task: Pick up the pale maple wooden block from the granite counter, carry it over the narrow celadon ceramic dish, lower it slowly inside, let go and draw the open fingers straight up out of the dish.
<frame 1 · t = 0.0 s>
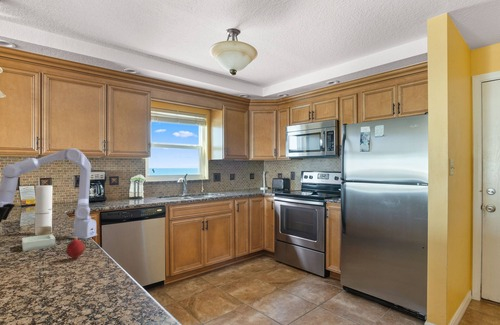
hand: (0, 221, 125), 11 cm above the table, tool pointing down, fingers open, 7 cm apart
dish: (38, 246, 122), on the table
block: (44, 240, 133), on the table
cylindrical container: (43, 233, 147), on the table
onion: (75, 259, 105), on the table
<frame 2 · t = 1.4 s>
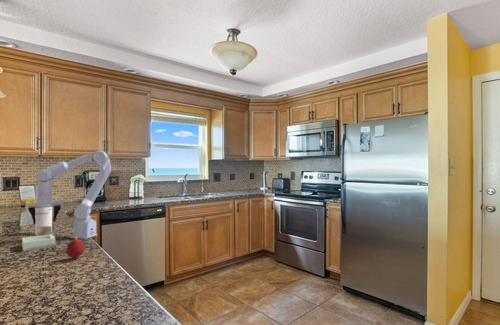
hand: (44, 222, 133), 8 cm above the table, tool pointing down, fingers open, 7 cm apart
nothing on the table moved.
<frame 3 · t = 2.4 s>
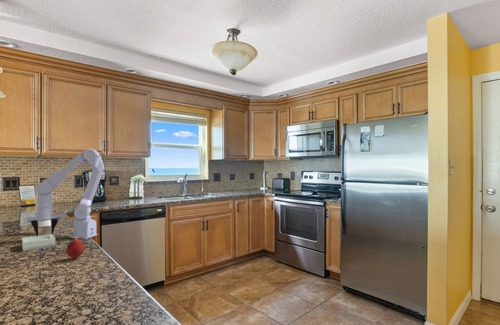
hand: (44, 235, 133), 2 cm above the table, tool pointing down, fingers closed on block, 5 cm apart
block: (44, 239, 133), on the table, touching gripper
everything else where it was.
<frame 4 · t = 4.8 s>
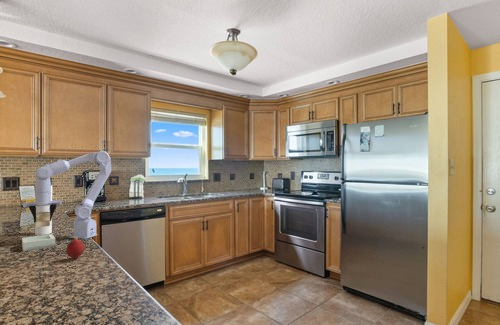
hand: (42, 221, 130), 9 cm above the table, tool pointing down, fingers closed on block, 5 cm apart
block: (42, 225, 130), point 7 cm above the table, touching gripper
everything else where it was.
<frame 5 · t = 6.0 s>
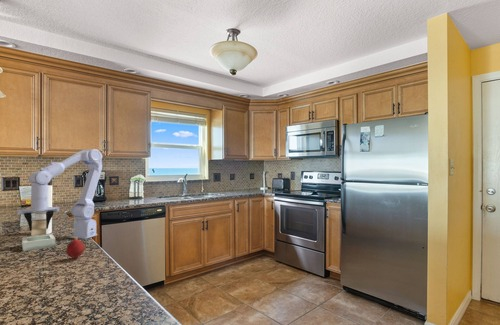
hand: (38, 229, 122), 7 cm above the table, tool pointing down, fingers closed on block, 5 cm apart
block: (38, 234, 122), point 5 cm above the table, touching gripper
everything else where it was.
when the fingers open (4 cm above the table, at t = 7.1 s): block drops 1 cm, resting on dish.
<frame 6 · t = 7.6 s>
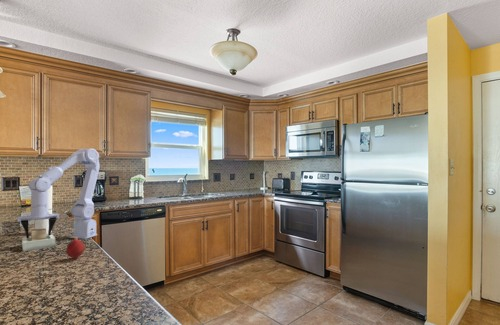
hand: (38, 236, 122), 4 cm above the table, tool pointing down, fingers open, 7 cm apart
block: (38, 243, 122), point 1 cm above the table, touching dish
everything else where it was.
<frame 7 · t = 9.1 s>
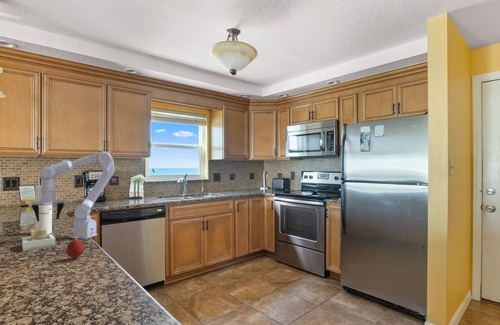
hand: (47, 220, 134), 9 cm above the table, tool pointing down, fingers open, 7 cm apart
nothing on the table moved.
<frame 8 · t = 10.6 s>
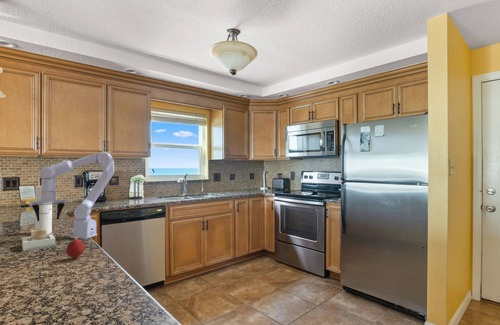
hand: (48, 219, 134), 9 cm above the table, tool pointing down, fingers open, 7 cm apart
nothing on the table moved.
at the end: block 0.3 cm off-centre on the dish, point 1.0 cm above the dish's base; the gripper is holding nothing; block tilted 0° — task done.
